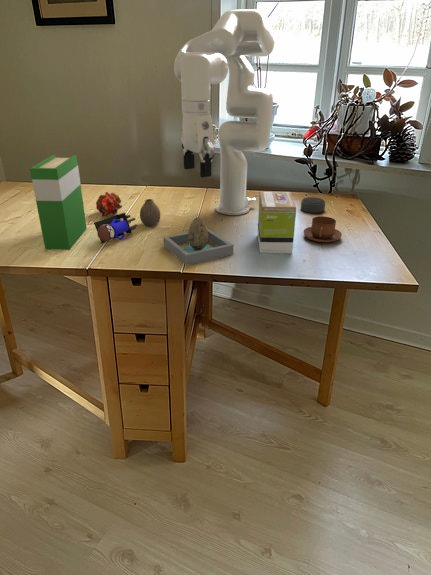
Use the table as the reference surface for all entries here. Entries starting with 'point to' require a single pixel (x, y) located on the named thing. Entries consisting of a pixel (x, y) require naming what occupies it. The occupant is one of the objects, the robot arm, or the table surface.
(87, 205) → the table surface
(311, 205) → the smart speaker
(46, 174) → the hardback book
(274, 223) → the tea box
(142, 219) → the vase
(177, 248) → the walled pen
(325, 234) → the cup and saucer
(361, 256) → the table surface
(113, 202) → the dragon fruit
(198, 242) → the decorative egg
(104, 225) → the character figurine
